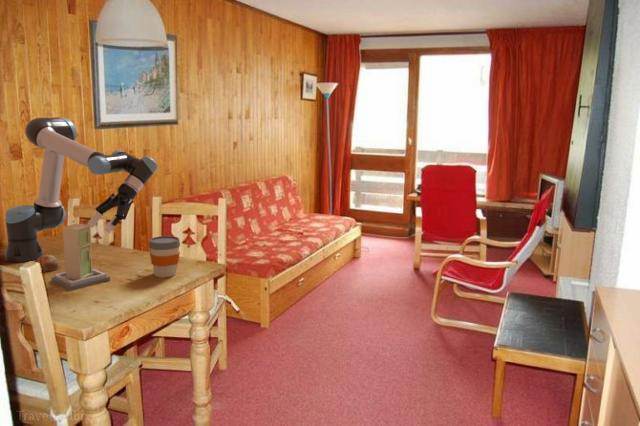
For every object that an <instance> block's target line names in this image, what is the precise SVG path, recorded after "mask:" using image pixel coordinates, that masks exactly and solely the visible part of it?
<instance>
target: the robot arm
mask: <svg viewBox="0 0 640 426" xmlns="http://www.w3.org/2000/svg"><path fill="white" fill-rule="evenodd" d="M24 129H25V130H24V131H25V132H24V133H25V137H26V138H27V140H28V141H29V143H31V144H33V145H34V146H36V147H38V148H40V149H43V158H42V165H41V172H40V173H41V174H40V181H39V188H38V189H39V190H38V197H37V198H35V199H34V200H33V205H32V204H23V205H16V206H13V207H10V208H9V209H7V210H6V211H5V219H4V221H5V225H6V226H5V227H6V236H7V244H6V245H7V246H6V248H5V252H4V260H5V261H6V262H9V263H10V262H11V263H22V262H29V261H31V262H32V261H35V260H36V259H38V258H39V257H41V256H43V255H44V251H43V248H42V246H41V245H40V243H39V240H38V232H42V231H47V230H51V229H55V228H57V227H59V226H61V225H62V224H64V222H65V220H66V215H67V213H66V210H65V207H64V206H63V204H62V201H61V200H60V194H61V193H60V192H61V186H62V180H63V179H62V178H63V170H64V162H65V157H66V158H68V159H70V160H72V161H74V162H76V163H78V164H81V165H83V166H86V167H87V168H88V170H89V171H90V173H92V174H93V175H95V176H98V175H101V176H103V175H107V174H113V173H118V172H119V173H121V172H125V173H128V175H127V176H126V178H125V179H123V182H122V183H121V184H120V185H119V186H118V187H117V190H116V192H117V194H115V193H112V194H111V195H110V196H108V198H106V199H105V200H104V201H102V202H101V203H100V204H99V205H98V206H96V207H95V210H96V212H95V213H94V214H93V216H92V217H91V218H90V219H89V220H88V222H87V223H86V224H87V225H90V228H92V229H93V228H94V227H95V225H96V224H97V223H98V221H100V219H102V217H103V216H104V214H105V213H106V212H108V211H110V210H111V209H114V208H116V207H117V209H116V214H115V215H114V216H113V217H112V218H111V220H110V221H109V222H108V223H107V224H106V226H105V227H104V228H103V230H104V231H105V232H106V233H108V234H110V233H111V232H112V231H113V230H114V229H115V227H116V226H117V225H118V224H119V222H120V221H122V220H124V221H125V220H126V219H127V215H128V213H129V212H130V209H131V206H132V204H133V203H134V199H135V198H136V197H137V195H138V193H139V192H140V191H142V190H143V189H142V188H143V187H144V186H145V185H146V184H147V182H148V181H149V180H150V178H152V176H153V175H155V172H156V170H157V169H158V163H157V162H156V160H155V159H153V158H151V157H150V156H143V157H142V158H141V159H140V158H138V157H136V156H133V155H132V154H130V153H128V152H126V151H123V150H121V149H117V150H115V151H113V152H112V153H111V154H104V153H101V152H100V151H97V150H95V149H93V148H90V147H89V146H86V145H84V144H82V143H80V142H78V141H76V139H77V136H78V131H77V128H76V126H75V124H74V123H73V121H72V120H70V119H68V118H65V117H60V116H59V117H58V116H56V117H36V118H33V119H31V120H30V121H28V122H27V123H26V125H25V128H24Z"/></svg>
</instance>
